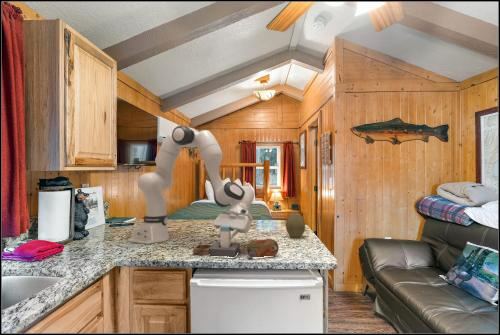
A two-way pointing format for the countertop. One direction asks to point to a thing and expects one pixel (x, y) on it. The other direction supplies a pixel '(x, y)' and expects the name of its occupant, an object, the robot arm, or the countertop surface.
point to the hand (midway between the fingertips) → (224, 237)
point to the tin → (262, 248)
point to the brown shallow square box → (202, 249)
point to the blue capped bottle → (225, 236)
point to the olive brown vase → (295, 225)
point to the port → (225, 250)
